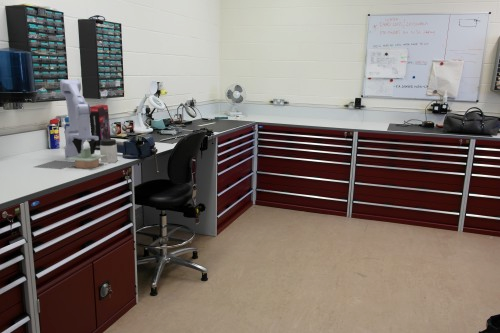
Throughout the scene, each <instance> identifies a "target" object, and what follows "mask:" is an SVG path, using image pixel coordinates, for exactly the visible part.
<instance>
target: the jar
mask: <svg viewBox="0 0 500 333" xmlns="http://www.w3.org/2000/svg"><path fill="white" fill-rule="evenodd" d="M99 151H100V152H99V153H100V154H99V155H106V157H103V158H100V162H101V163H107V164H113V163H117V162H118V147H117V140H116V139H114V138H111V139H103V140H100V150H99Z"/></svg>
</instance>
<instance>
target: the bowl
mask: <svg viewBox="0 0 500 333" xmlns="http://www.w3.org/2000/svg"><path fill="white" fill-rule="evenodd" d="M74 162H75V165H74V167H75V168H76V169H77V168H79V169H80V168H81V169H90V168H91V169H95V168H97V167H100V160H99V159H97V160H94V161H91V162H90V161H74Z"/></svg>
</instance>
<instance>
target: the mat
mask: <svg viewBox="0 0 500 333" xmlns="http://www.w3.org/2000/svg"><path fill="white" fill-rule="evenodd" d="M72 166H73V167H74V166H75V161H72V160H52V161H49V162H45V163H41V164H38V165H36V166H34V168H40V169H41V168H42V169H54V170H64V169H66V168H70V167H72Z"/></svg>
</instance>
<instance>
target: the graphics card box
mask: <svg viewBox="0 0 500 333" xmlns="http://www.w3.org/2000/svg"><path fill="white" fill-rule="evenodd" d="M89 120H90V132H91V135H92V136H98V137H99V140H98V143H97V145H96V148H95V151H100V140H103V139H112V138H111V128H110V125H111V124H110V116H109V105H108V104H98V105H97V104H96V105H92V106H90V115H89Z"/></svg>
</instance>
